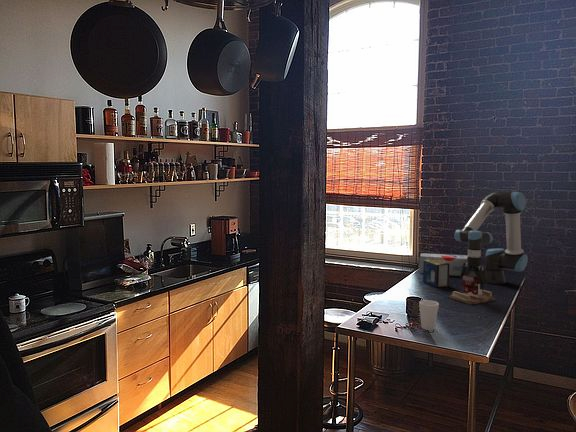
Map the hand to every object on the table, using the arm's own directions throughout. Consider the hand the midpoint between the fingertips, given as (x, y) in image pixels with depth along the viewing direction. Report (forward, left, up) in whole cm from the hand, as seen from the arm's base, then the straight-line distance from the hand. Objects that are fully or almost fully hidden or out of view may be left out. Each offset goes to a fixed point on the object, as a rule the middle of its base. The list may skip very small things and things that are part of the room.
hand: (472, 291), depth 294 cm
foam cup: (+60, +27, -5) cm, 66 cm away
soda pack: (-36, -56, -5) cm, 67 cm away
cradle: (0, 0, -4) cm, 4 cm away
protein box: (-6, -37, -5) cm, 38 cm away
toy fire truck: (0, 0, -1) cm, 1 cm away
